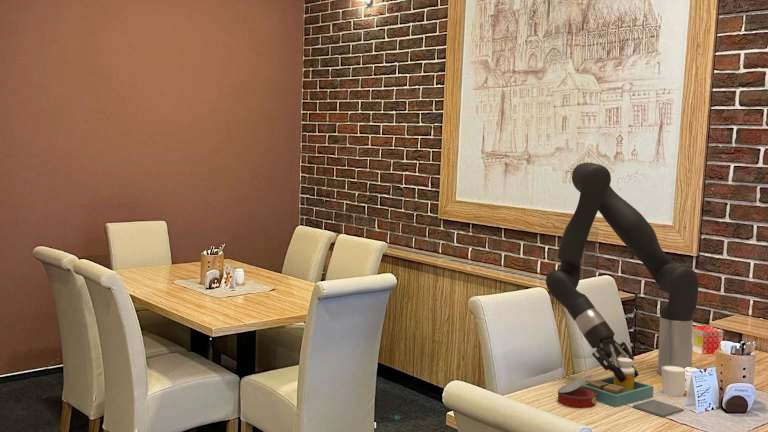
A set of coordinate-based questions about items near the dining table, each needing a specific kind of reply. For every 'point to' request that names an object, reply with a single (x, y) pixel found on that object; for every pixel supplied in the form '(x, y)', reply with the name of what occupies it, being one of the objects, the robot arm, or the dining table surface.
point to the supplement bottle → (626, 374)
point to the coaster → (657, 408)
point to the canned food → (577, 394)
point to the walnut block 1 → (597, 384)
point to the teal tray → (637, 394)
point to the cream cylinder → (673, 380)
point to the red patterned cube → (706, 339)
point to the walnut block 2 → (613, 389)
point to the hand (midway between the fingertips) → (630, 378)
